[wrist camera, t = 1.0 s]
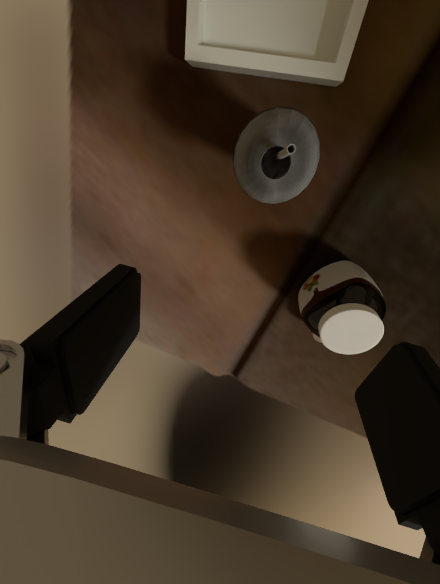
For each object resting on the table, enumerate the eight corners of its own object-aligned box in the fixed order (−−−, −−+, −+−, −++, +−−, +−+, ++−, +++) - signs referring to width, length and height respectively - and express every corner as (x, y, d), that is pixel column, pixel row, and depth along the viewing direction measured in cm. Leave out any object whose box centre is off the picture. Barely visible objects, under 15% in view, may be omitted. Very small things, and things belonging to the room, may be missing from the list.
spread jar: (345, 246, 35) (374, 287, 25) (389, 296, 38) (430, 351, 28) (279, 293, 41) (282, 341, 31) (321, 334, 44) (336, 390, 34)
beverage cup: (233, 162, 32) (191, 188, 15) (269, 102, 28) (265, 48, 11) (278, 196, 33) (284, 253, 16) (318, 142, 29) (380, 146, 12)
